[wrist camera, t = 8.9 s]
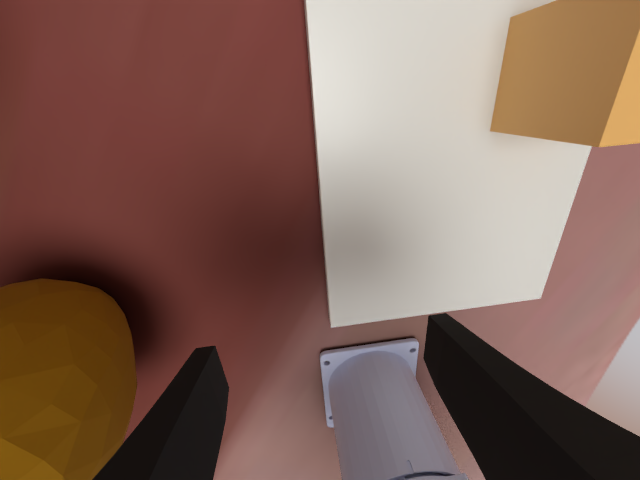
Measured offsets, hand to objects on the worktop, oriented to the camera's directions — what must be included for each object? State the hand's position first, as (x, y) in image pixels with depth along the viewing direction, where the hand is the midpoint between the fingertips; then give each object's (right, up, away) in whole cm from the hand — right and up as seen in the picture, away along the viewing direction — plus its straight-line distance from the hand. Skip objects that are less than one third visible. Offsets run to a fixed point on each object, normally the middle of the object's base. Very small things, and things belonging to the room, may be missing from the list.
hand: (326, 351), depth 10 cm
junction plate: (+8, +8, +8) cm, 13 cm away
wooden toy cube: (+11, +12, +5) cm, 17 cm away
